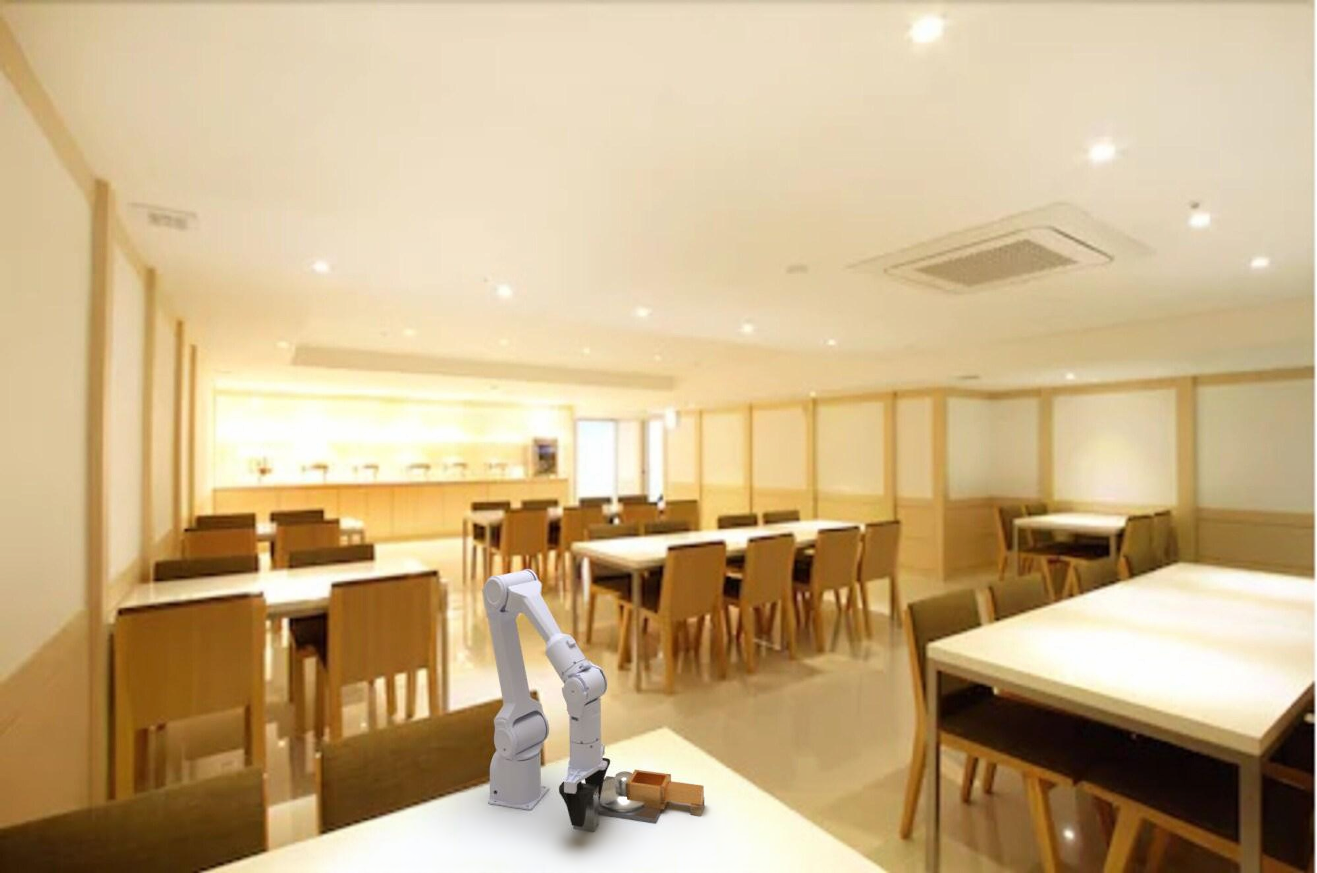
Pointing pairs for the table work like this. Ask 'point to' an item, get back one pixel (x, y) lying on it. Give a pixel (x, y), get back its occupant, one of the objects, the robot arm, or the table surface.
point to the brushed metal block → (591, 810)
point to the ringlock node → (646, 795)
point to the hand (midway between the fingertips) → (586, 812)
